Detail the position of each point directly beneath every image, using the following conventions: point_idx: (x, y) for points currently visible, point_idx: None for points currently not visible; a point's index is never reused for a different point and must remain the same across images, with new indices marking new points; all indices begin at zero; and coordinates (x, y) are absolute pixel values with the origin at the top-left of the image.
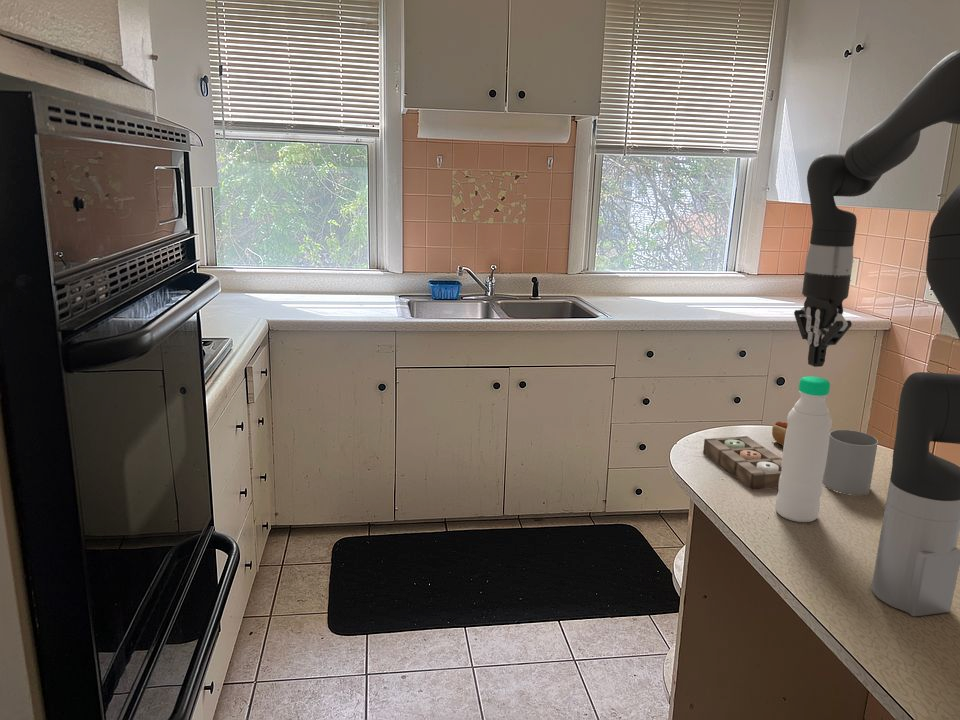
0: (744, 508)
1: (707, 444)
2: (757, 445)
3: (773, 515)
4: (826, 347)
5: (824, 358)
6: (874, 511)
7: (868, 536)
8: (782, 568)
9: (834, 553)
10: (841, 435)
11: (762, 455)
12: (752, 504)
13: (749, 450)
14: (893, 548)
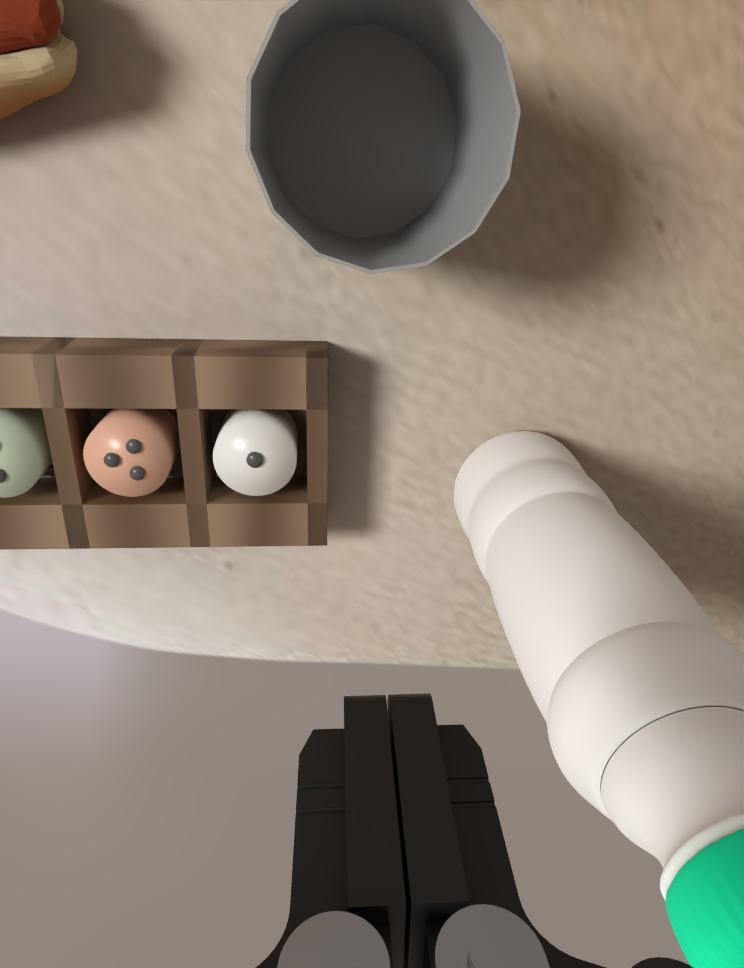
0: (434, 598)
1: None
2: (18, 372)
3: None
4: (529, 926)
5: (489, 787)
6: (583, 200)
7: (702, 361)
8: None
9: (723, 516)
10: (253, 103)
11: (129, 406)
12: (417, 566)
13: (88, 444)
14: None
